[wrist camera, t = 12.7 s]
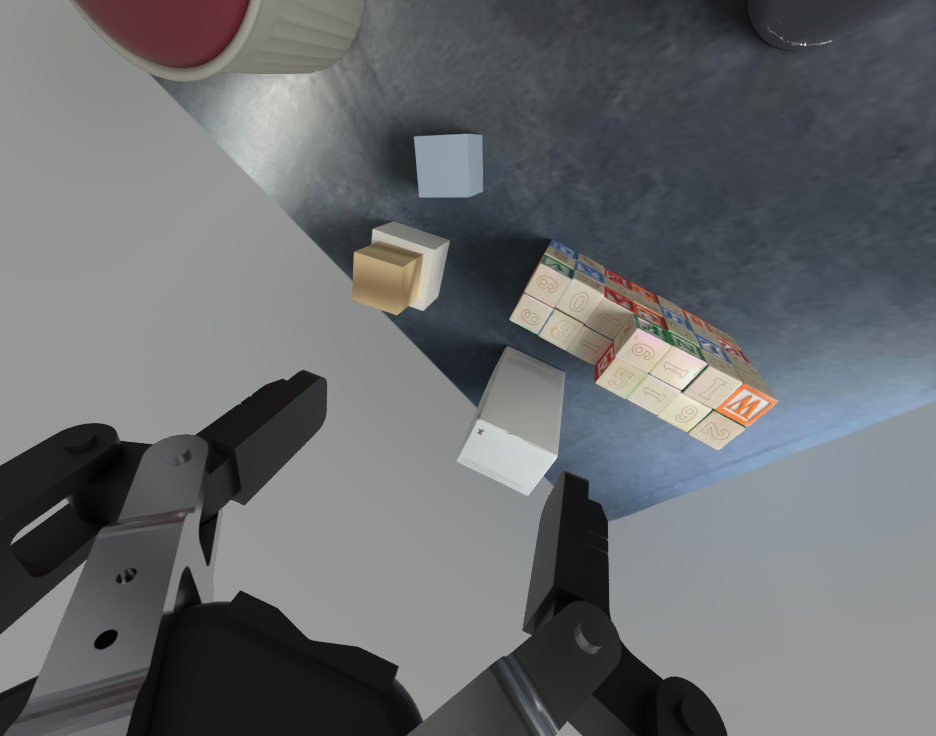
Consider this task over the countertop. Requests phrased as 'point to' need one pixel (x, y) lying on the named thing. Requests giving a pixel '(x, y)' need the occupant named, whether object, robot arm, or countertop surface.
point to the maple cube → (386, 276)
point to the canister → (225, 34)
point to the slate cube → (449, 165)
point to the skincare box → (516, 422)
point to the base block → (426, 245)
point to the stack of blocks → (644, 347)
